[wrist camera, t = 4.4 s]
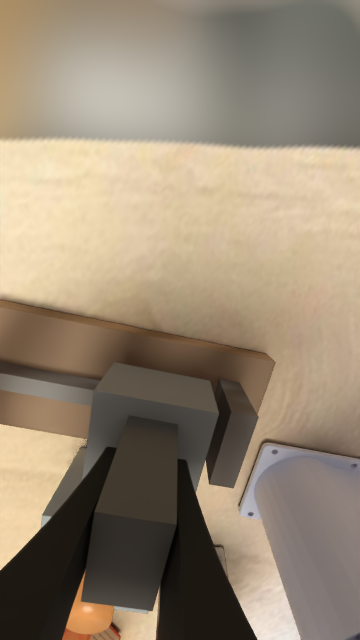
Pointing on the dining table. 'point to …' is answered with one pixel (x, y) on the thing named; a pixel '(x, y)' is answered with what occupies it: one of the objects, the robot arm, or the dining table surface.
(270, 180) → the dining table surface
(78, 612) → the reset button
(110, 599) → the carriage
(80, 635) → the cracker box
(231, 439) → the rail
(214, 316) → the dining table surface
